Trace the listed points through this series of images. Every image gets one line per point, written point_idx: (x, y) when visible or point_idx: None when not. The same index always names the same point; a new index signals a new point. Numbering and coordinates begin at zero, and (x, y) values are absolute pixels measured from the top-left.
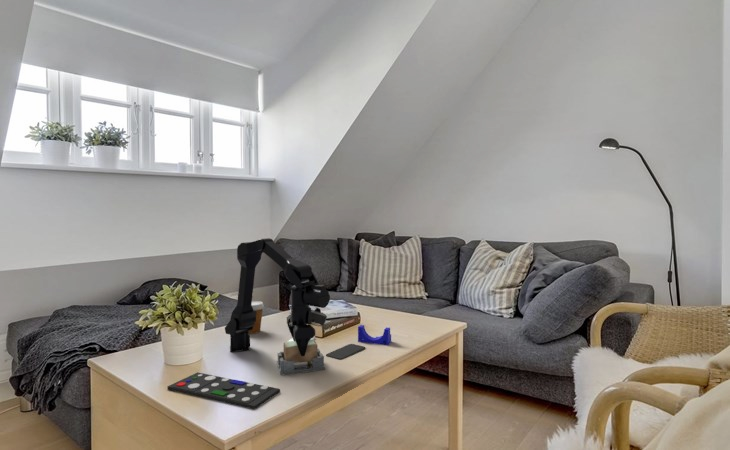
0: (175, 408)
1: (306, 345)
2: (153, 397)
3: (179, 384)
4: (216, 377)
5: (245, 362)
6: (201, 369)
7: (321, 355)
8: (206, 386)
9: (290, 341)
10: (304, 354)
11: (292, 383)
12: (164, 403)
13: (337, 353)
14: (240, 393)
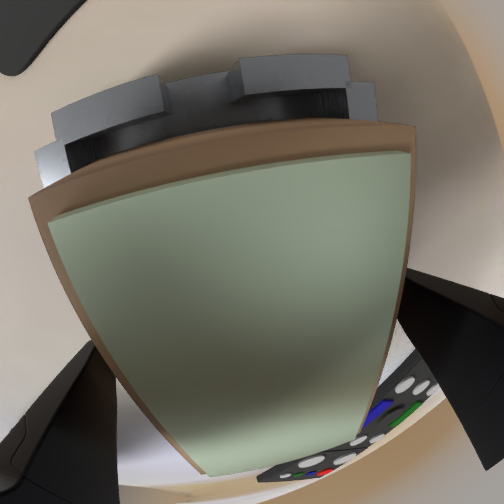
0: (401, 431)
1: (500, 306)
2: (343, 467)
3: (326, 472)
4: (309, 456)
5: (157, 444)
6: (217, 481)
7: (321, 72)
8: (353, 446)
9: (200, 461)
10: (407, 273)
11: (430, 265)
12: (375, 449)
13: (17, 2)
14: (432, 380)
